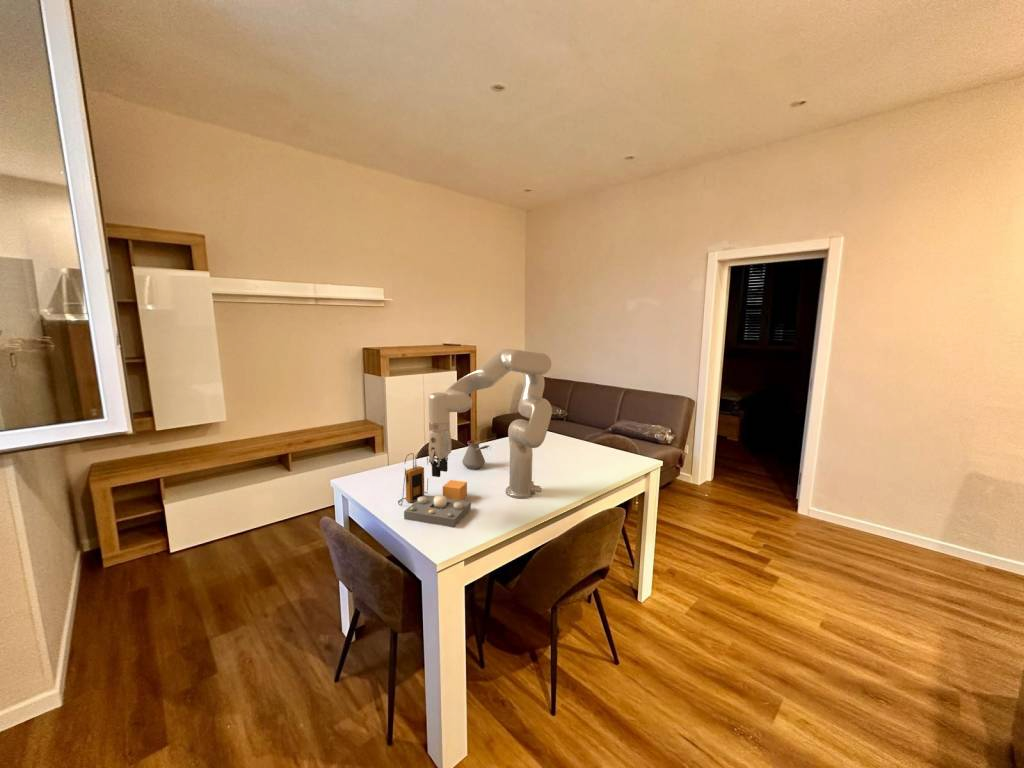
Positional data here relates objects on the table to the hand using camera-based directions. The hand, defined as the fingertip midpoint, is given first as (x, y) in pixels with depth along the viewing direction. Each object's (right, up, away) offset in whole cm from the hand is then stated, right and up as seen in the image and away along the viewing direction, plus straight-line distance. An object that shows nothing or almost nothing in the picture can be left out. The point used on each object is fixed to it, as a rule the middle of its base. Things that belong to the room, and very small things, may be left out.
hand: (439, 473), depth 151 cm
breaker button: (0, -13, +2) cm, 13 cm away
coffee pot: (+10, -9, +48) cm, 50 cm away
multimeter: (-15, -13, +15) cm, 25 cm away
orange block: (+4, -14, +15) cm, 21 cm away
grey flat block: (-1, -15, +1) cm, 16 cm away
